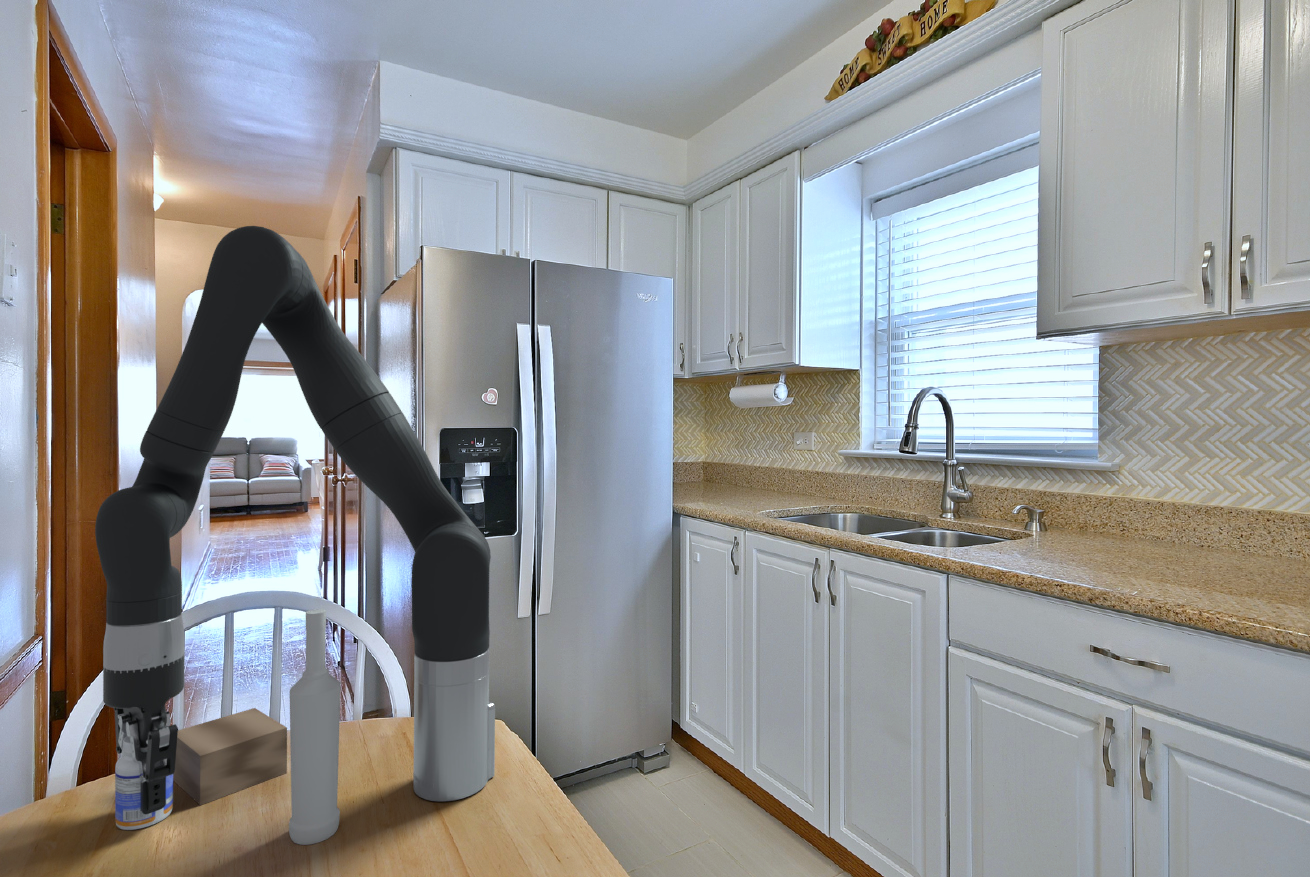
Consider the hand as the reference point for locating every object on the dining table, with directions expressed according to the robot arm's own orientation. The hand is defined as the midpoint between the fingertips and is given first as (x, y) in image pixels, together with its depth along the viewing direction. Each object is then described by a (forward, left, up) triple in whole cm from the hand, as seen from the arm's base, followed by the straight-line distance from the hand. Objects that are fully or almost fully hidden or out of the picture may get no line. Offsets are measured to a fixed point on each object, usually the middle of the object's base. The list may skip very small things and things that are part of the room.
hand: (144, 800), depth 79 cm
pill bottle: (0, 0, -2) cm, 2 cm away
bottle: (-11, +18, -2) cm, 21 cm away
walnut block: (-10, -3, -2) cm, 11 cm away
